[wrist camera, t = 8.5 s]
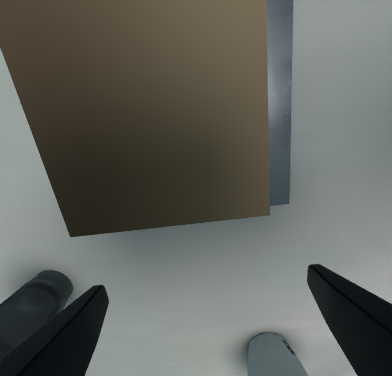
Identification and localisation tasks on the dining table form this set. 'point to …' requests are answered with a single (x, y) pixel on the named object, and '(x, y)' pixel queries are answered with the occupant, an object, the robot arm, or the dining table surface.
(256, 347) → the cup
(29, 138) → the dining table surface
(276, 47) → the stand
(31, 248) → the dining table surface
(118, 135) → the post
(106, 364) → the dining table surface
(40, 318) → the beverage cup
